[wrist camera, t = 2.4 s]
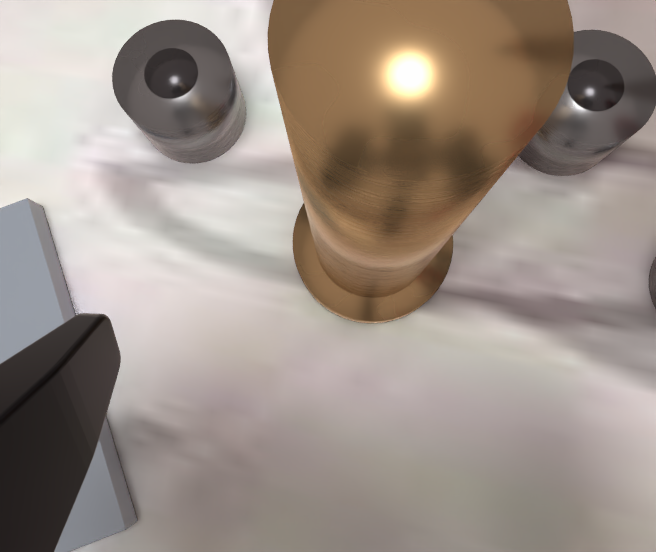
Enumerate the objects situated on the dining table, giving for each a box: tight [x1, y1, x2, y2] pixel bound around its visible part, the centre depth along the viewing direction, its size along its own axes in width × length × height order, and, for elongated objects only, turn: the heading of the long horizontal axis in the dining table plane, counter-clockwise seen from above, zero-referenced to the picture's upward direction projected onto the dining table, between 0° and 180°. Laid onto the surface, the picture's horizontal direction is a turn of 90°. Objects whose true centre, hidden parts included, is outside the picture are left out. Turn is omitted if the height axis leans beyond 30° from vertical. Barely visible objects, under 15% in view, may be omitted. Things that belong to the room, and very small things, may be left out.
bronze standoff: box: [268, 0, 574, 323], centre depth 14 cm, size 6×6×13 cm
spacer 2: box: [518, 30, 656, 176], centre depth 19 cm, size 4×4×3 cm
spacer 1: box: [112, 20, 246, 163], centre depth 20 cm, size 4×4×3 cm
